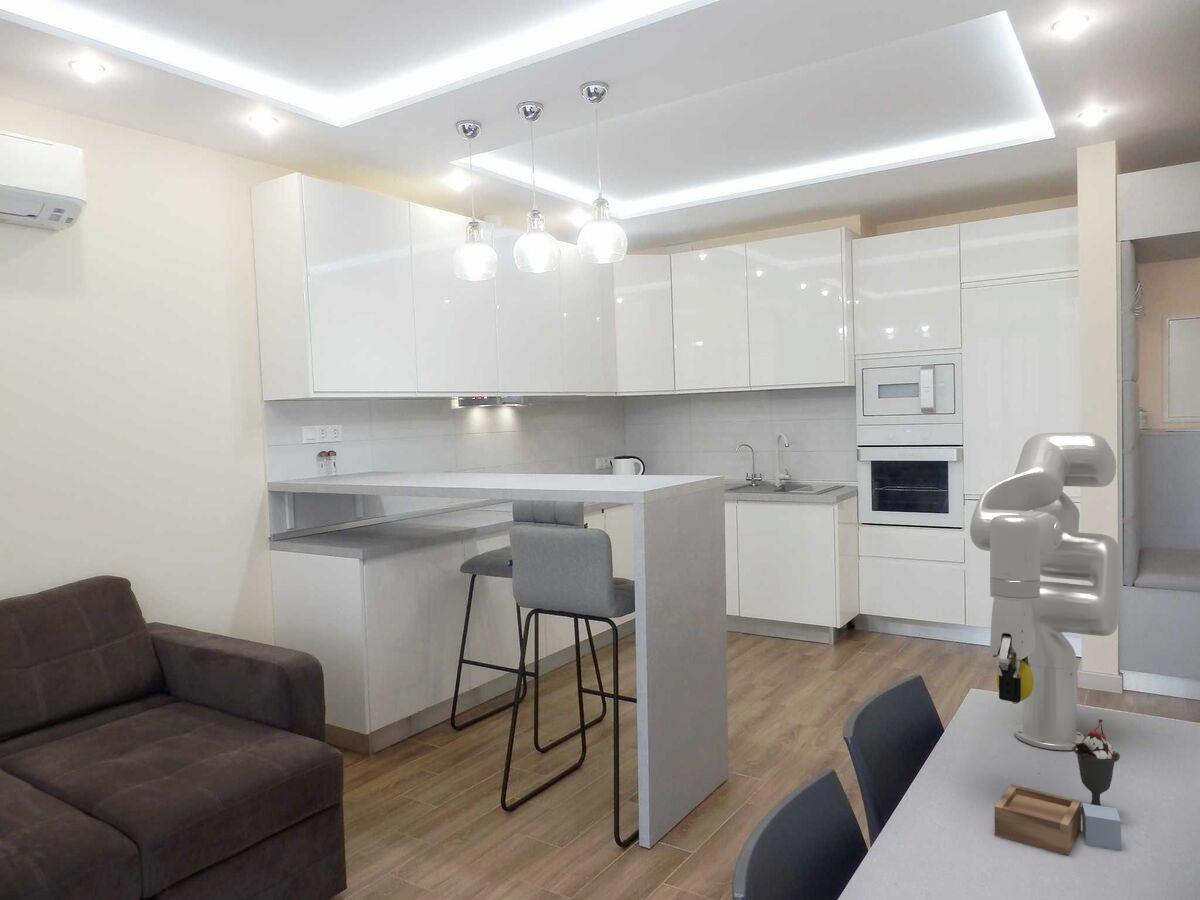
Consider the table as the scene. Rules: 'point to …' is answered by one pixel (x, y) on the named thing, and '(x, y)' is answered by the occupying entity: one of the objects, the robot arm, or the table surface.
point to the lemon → (1023, 679)
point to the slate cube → (1101, 826)
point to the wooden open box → (1038, 819)
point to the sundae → (1096, 763)
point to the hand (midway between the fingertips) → (1015, 695)
